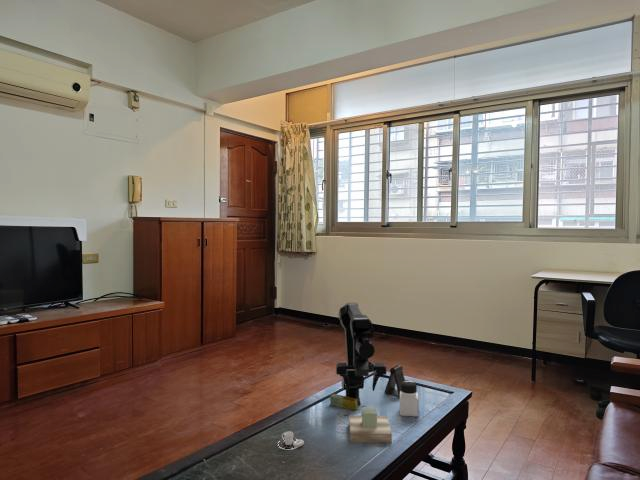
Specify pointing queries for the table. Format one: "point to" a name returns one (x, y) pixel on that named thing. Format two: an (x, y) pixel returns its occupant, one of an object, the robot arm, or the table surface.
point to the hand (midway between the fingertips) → (361, 390)
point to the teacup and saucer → (291, 440)
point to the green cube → (369, 417)
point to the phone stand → (395, 381)
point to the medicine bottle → (408, 399)
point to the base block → (370, 430)
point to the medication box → (344, 401)
